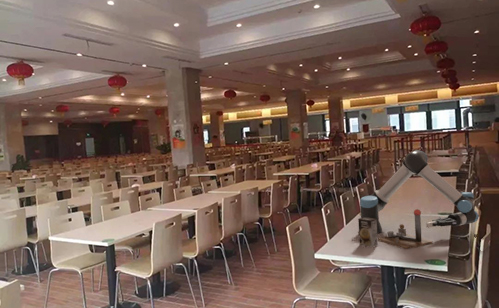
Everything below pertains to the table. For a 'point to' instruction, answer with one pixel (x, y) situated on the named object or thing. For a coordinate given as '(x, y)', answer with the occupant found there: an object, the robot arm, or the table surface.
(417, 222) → the lever
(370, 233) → the coffee box
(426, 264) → the table surface
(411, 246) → the cracker base
